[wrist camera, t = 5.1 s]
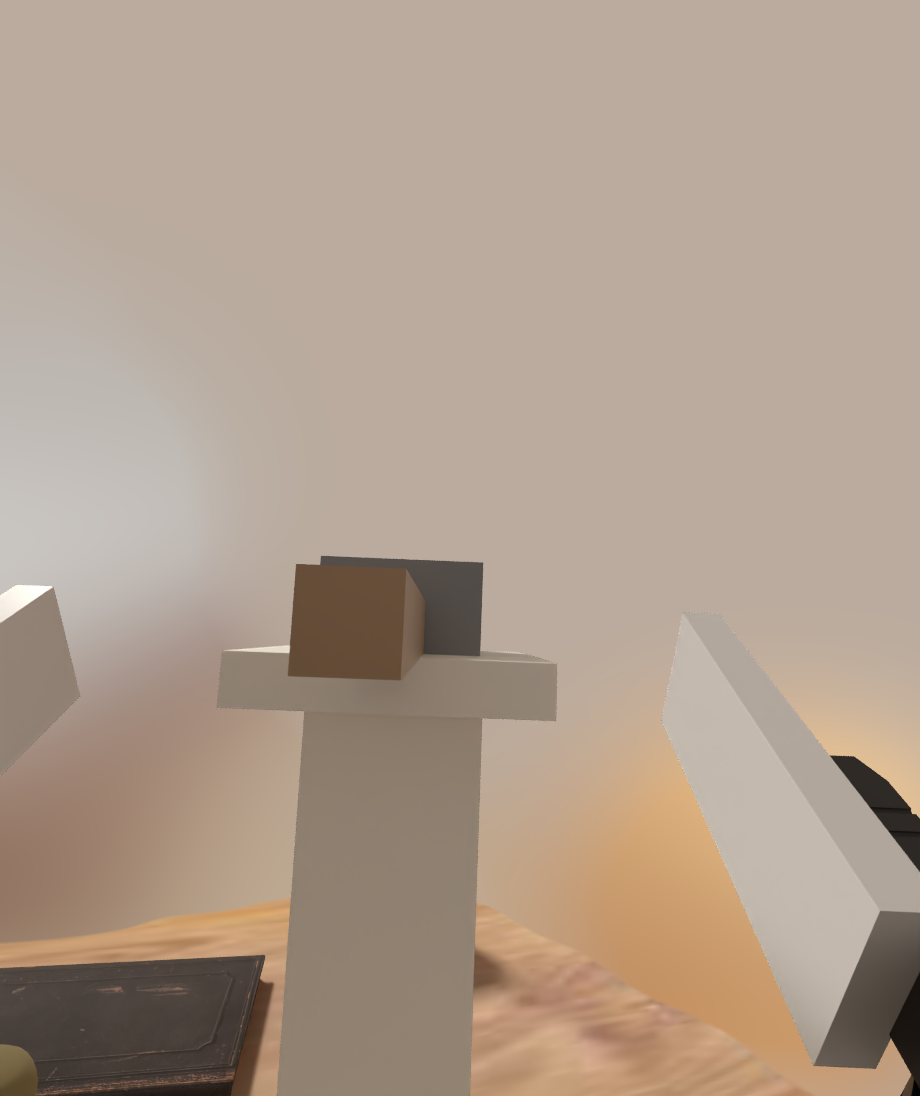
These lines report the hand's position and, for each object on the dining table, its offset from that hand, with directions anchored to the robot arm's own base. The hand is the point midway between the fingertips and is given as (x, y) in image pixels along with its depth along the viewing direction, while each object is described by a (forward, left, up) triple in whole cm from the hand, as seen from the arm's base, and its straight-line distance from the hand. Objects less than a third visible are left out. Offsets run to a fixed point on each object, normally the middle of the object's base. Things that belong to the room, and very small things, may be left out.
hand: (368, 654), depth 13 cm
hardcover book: (-3, +43, -31) cm, 53 cm away
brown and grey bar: (+5, +9, 0) cm, 10 cm away
